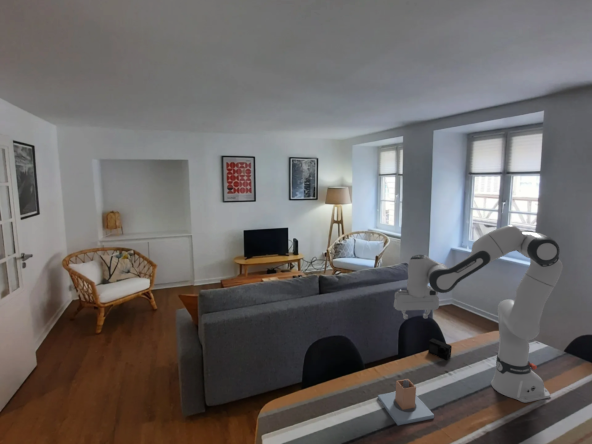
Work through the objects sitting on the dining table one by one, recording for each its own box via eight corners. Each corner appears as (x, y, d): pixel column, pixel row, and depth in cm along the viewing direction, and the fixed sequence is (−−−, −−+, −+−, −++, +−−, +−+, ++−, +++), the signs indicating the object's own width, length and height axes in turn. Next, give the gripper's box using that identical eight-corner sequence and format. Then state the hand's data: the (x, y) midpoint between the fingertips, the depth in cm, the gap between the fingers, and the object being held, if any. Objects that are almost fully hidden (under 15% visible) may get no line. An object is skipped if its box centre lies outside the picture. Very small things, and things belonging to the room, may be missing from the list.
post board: (410, 392, 146) (412, 366, 144) (433, 418, 130) (435, 389, 129) (377, 398, 142) (378, 371, 140) (397, 425, 127) (399, 396, 125)
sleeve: (407, 398, 139) (408, 378, 138) (414, 407, 134) (416, 387, 133) (395, 400, 138) (396, 380, 137) (402, 409, 133) (403, 389, 131)
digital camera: (426, 353, 178) (427, 341, 177) (431, 349, 181) (432, 337, 180) (445, 361, 170) (446, 348, 169) (450, 357, 173) (451, 345, 172)
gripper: (397, 292, 148) (396, 321, 150) (441, 291, 149) (439, 320, 151) (392, 287, 154) (391, 315, 156) (434, 287, 155) (433, 314, 157)
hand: (415, 318), depth 153 cm, fingers open, 8 cm apart
